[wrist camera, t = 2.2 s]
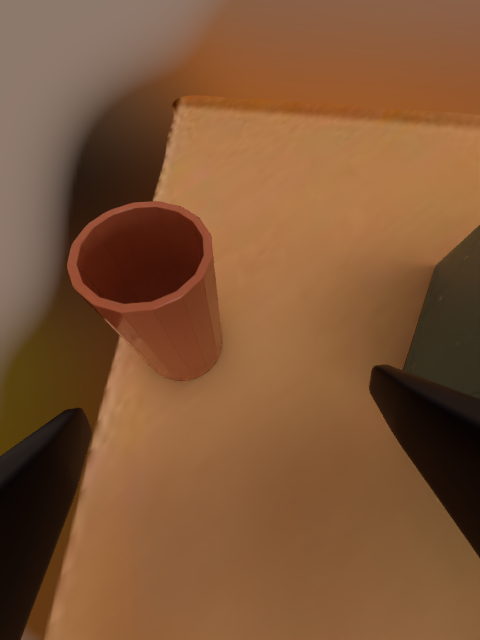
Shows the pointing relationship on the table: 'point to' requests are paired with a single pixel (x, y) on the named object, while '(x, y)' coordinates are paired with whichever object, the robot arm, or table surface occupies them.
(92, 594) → the table surface
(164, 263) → the clay cup
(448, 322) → the teal storage box
